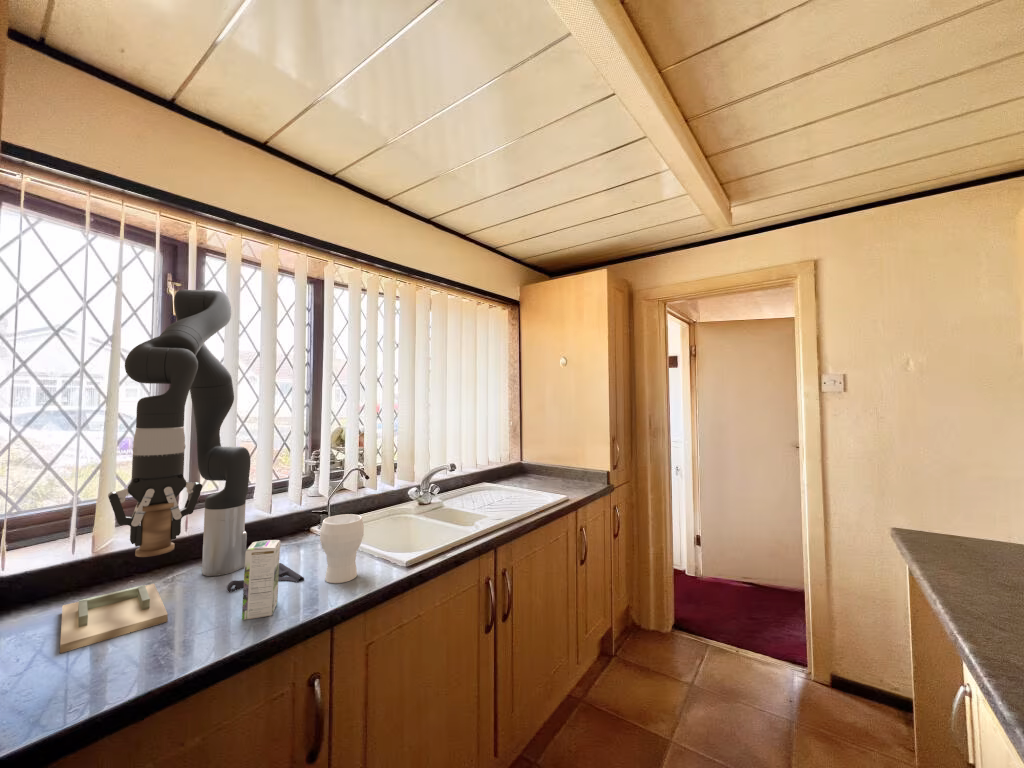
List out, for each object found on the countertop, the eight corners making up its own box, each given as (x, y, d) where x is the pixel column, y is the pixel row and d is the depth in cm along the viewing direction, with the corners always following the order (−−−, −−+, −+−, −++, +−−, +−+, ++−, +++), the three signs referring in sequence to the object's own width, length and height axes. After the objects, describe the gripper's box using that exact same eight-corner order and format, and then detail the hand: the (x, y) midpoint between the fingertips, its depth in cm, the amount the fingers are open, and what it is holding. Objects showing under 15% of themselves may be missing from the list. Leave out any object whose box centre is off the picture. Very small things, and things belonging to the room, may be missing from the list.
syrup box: (248, 608, 91) (250, 541, 91) (278, 603, 93) (280, 538, 93) (241, 621, 85) (243, 550, 86) (273, 616, 87) (275, 546, 88)
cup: (309, 582, 103) (310, 522, 104) (338, 567, 114) (339, 512, 114) (344, 588, 100) (345, 526, 101) (371, 571, 110) (372, 515, 111)
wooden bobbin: (171, 544, 81) (173, 498, 82) (176, 551, 78) (178, 503, 78) (133, 551, 77) (135, 503, 78) (136, 559, 73) (139, 508, 74)
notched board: (153, 589, 99) (154, 575, 99) (167, 621, 85) (168, 604, 85) (62, 612, 88) (63, 596, 88) (59, 653, 74) (60, 633, 74)
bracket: (218, 585, 103) (219, 574, 103) (282, 568, 114) (282, 557, 114) (236, 604, 94) (237, 592, 94) (304, 583, 105) (304, 572, 105)
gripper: (201, 446, 86) (198, 529, 85) (105, 452, 76) (101, 546, 75) (209, 449, 81) (206, 537, 80) (108, 456, 70) (103, 557, 70)
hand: (155, 541), depth 77 cm, fingers closed on wooden bobbin, 4 cm apart
